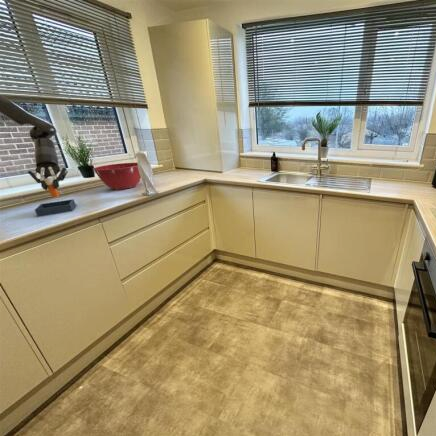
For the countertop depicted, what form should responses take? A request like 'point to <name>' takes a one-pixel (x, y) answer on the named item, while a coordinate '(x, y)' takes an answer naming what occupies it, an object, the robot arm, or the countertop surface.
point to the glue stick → (51, 187)
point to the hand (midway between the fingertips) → (50, 188)
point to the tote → (55, 207)
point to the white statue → (146, 173)
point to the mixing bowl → (119, 175)
